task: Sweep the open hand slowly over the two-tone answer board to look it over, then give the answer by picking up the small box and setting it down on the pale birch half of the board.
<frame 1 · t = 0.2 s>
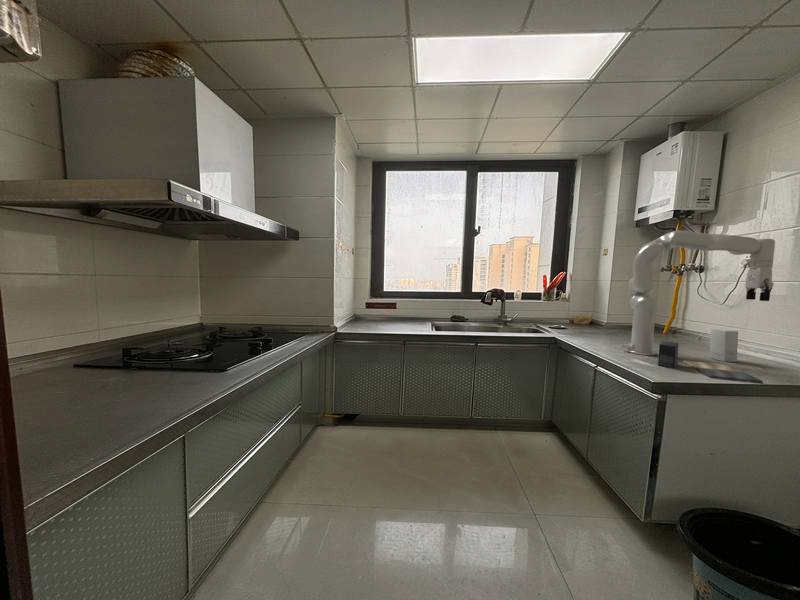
hand: (757, 300, 155), 31 cm above the worktop, tool pointing down, fingers open, 9 cm apart
small box: (667, 365, 151), on the worktop
answer board: (718, 371, 141), on the worktop
skincare box: (721, 360, 162), on the worktop
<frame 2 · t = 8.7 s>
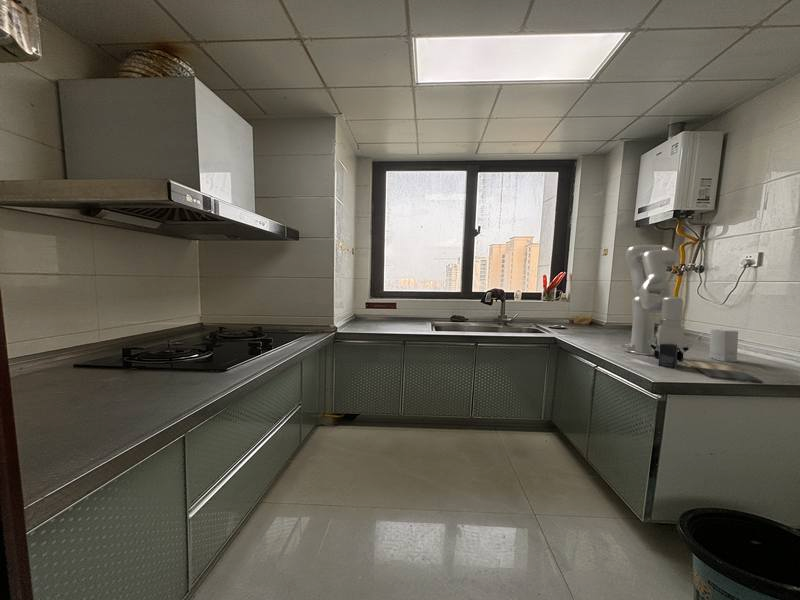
hand: (667, 359, 151), 3 cm above the worktop, tool pointing down, fingers closed on small box, 8 cm apart
small box: (667, 365, 151), on the worktop, touching gripper
everything else where it was.
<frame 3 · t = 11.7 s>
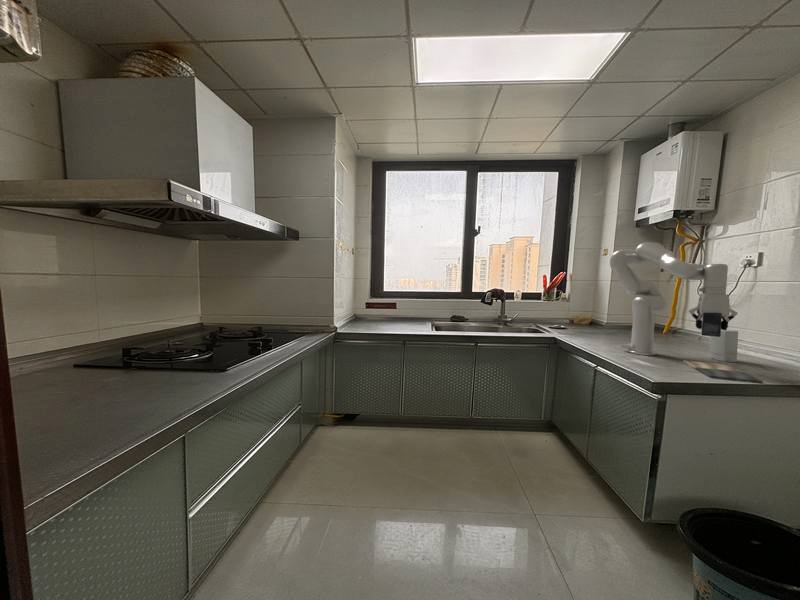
hand: (711, 329, 146), 18 cm above the worktop, tool pointing down, fingers closed on small box, 8 cm apart
small box: (710, 335, 146), point 15 cm above the worktop, touching gripper
everything else where it was.
when the fingers open (5 cm above the worktop, at t = 15.0 s): small box drops 1 cm, resting on answer board.
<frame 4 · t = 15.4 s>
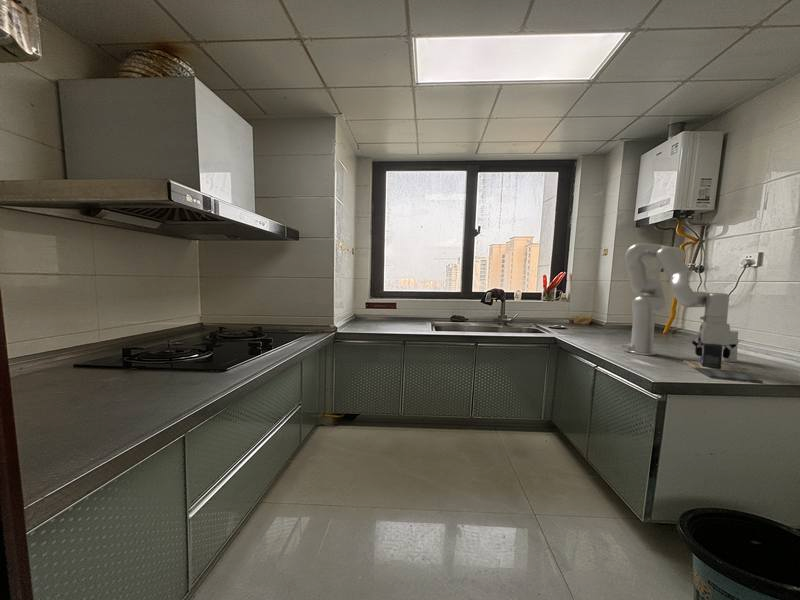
hand: (711, 356, 147), 5 cm above the worktop, tool pointing down, fingers open, 9 cm apart
small box: (709, 365, 147), point 1 cm above the worktop, touching answer board
everything else where it was.
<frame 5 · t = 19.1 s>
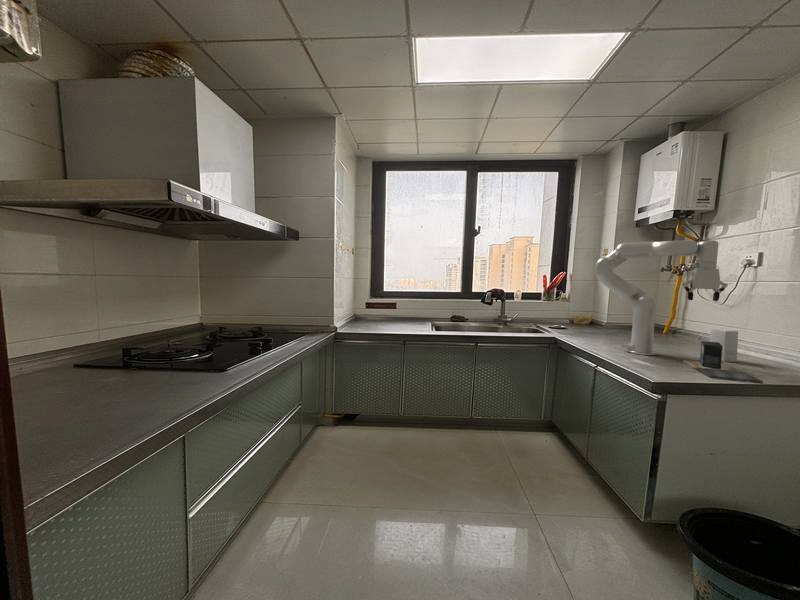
hand: (702, 300, 158), 30 cm above the worktop, tool pointing down, fingers open, 9 cm apart
nothing on the worktop moved.
at the end: small box inside the target area on the answer board (0.5 cm from its centre), point 0.8 cm above the answer board's base; small box tilted 0°; the gripper is holding nothing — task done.
